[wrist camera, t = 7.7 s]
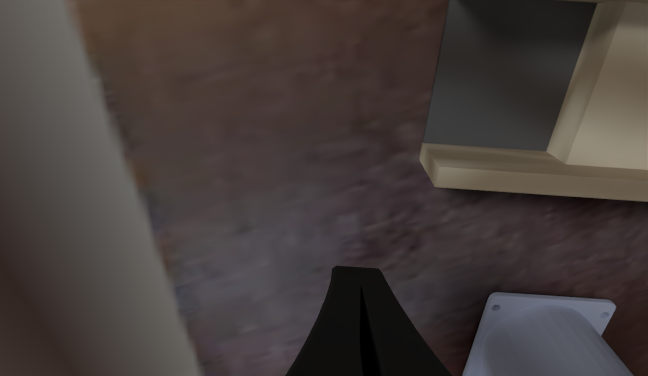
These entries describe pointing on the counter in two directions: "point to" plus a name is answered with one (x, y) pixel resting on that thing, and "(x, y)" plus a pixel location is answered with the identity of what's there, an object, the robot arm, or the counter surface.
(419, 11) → the counter surface
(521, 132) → the trap lane
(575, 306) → the robot arm
